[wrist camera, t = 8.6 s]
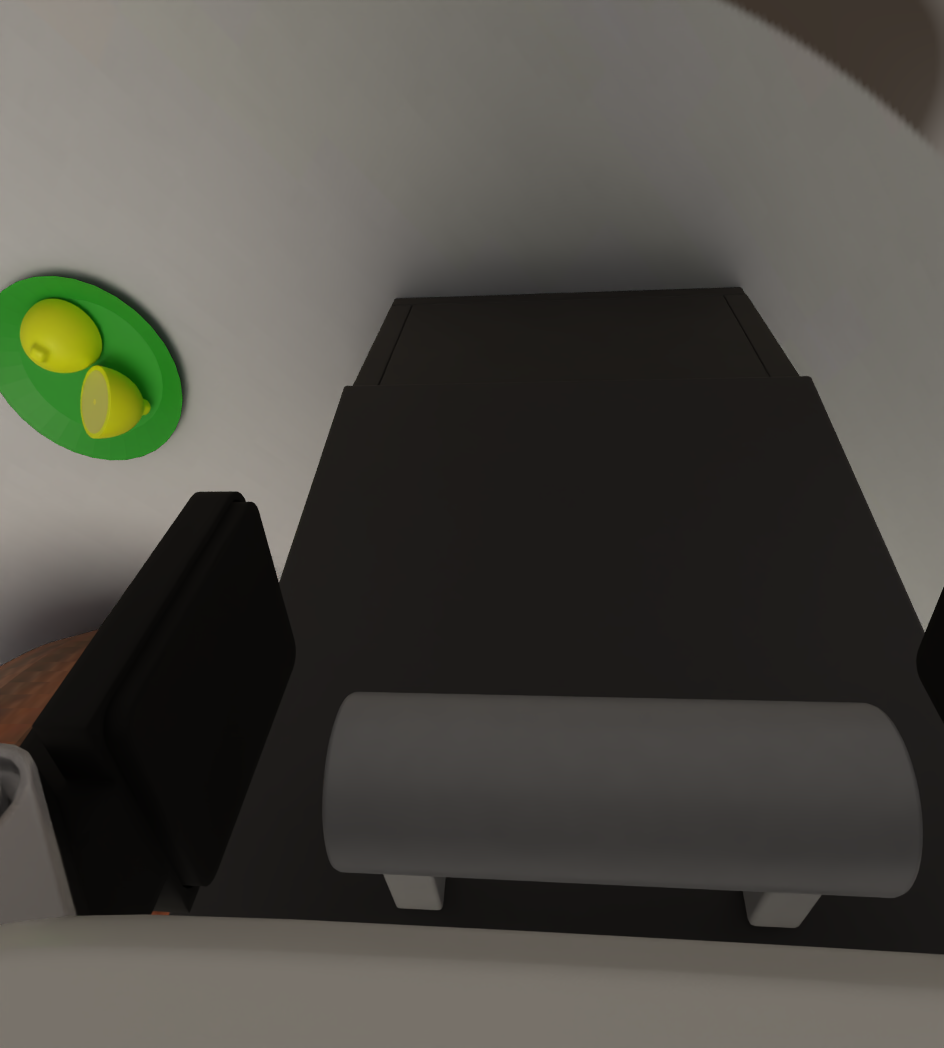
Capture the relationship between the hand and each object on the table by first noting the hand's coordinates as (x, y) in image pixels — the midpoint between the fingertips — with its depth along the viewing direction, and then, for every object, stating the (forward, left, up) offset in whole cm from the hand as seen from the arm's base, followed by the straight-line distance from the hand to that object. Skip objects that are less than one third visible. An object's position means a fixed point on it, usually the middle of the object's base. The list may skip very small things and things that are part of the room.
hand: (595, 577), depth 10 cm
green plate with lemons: (+20, -4, -19) cm, 28 cm away
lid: (+2, +4, -3) cm, 5 cm away
